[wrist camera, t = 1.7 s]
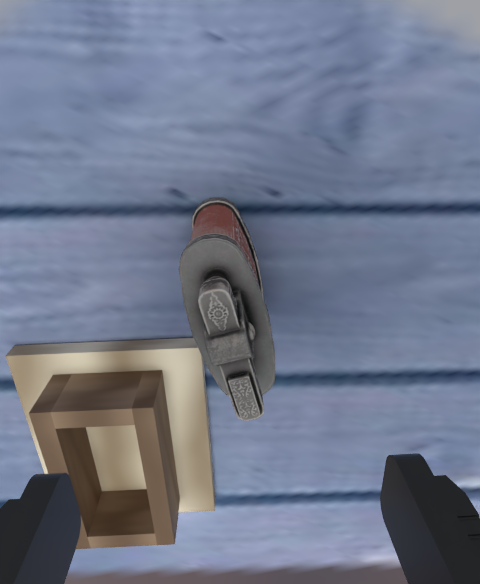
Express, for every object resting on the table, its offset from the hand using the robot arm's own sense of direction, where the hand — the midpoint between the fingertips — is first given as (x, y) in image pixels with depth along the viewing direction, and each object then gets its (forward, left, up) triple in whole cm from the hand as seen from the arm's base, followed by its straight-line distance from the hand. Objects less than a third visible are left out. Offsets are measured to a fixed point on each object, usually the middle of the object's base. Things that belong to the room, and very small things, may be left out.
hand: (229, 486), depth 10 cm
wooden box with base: (+8, +12, -15) cm, 21 cm away
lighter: (0, 0, -16) cm, 16 cm away
